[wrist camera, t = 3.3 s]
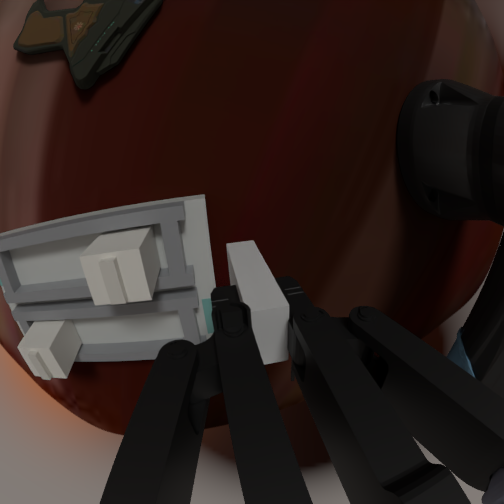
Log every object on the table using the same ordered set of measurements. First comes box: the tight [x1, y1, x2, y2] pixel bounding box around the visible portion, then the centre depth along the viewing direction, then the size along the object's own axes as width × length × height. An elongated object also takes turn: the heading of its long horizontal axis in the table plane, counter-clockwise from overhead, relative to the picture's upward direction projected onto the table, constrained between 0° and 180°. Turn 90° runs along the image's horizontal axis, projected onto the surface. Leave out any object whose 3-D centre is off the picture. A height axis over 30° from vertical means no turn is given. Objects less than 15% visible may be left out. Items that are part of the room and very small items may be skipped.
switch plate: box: [0, 194, 216, 362], centre depth 20 cm, size 22×13×3 cm, turn 94°
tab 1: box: [17, 319, 82, 380], centre depth 18 cm, size 4×3×6 cm
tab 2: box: [79, 224, 161, 305], centre depth 17 cm, size 4×3×6 cm
